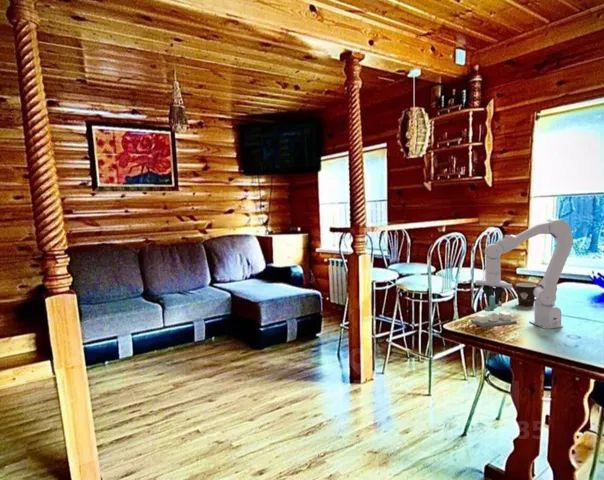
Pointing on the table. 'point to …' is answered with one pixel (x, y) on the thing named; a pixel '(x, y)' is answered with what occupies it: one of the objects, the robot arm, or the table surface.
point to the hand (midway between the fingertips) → (493, 303)
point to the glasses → (492, 304)
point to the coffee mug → (526, 294)
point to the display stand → (493, 319)
